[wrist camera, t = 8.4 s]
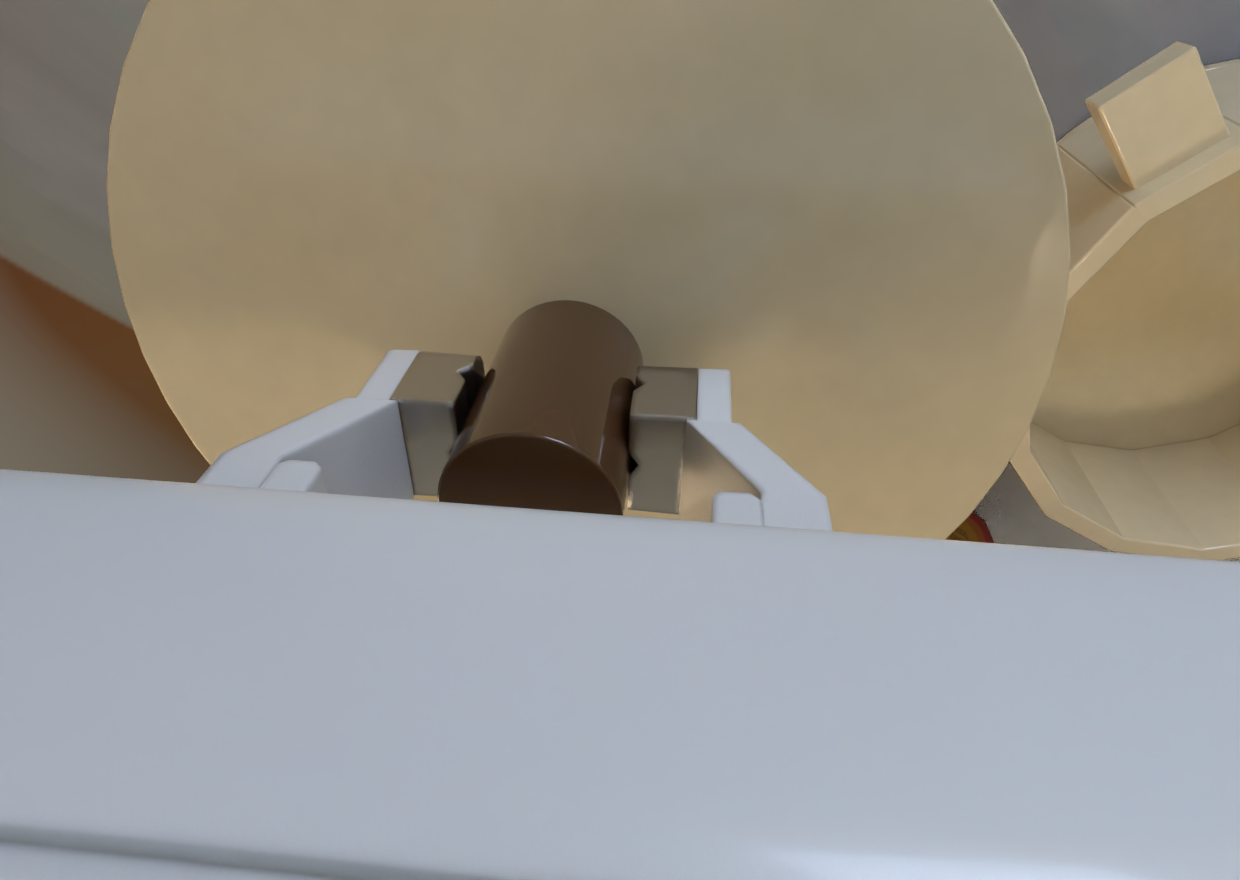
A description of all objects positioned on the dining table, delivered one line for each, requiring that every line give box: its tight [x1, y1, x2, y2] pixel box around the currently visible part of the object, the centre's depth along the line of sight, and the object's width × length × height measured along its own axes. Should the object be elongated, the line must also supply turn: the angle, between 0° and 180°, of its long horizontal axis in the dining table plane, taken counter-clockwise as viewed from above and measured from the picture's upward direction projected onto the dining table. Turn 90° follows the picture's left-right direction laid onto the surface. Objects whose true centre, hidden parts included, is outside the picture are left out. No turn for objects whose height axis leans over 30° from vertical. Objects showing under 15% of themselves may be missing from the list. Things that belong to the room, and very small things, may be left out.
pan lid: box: [107, 0, 1071, 540], centre depth 13 cm, size 16×16×5 cm
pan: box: [1010, 41, 1240, 560], centre depth 26 cm, size 15×21×6 cm
